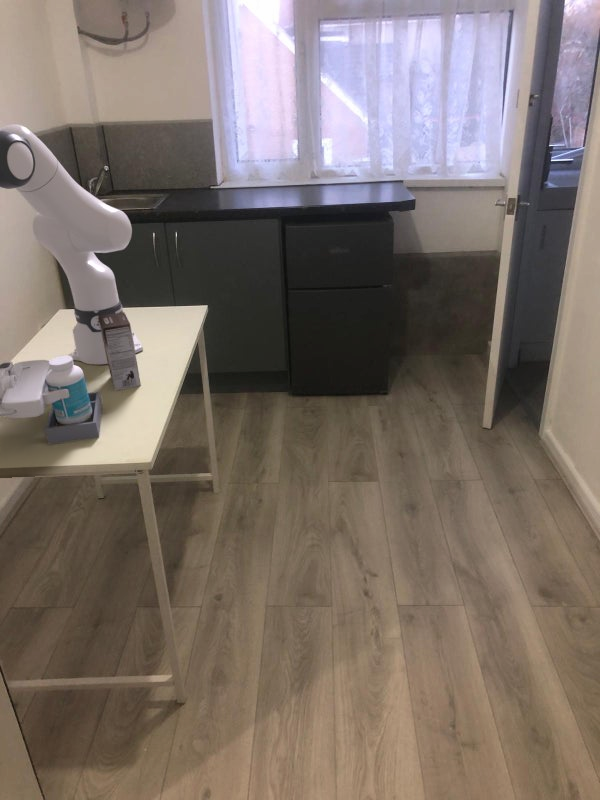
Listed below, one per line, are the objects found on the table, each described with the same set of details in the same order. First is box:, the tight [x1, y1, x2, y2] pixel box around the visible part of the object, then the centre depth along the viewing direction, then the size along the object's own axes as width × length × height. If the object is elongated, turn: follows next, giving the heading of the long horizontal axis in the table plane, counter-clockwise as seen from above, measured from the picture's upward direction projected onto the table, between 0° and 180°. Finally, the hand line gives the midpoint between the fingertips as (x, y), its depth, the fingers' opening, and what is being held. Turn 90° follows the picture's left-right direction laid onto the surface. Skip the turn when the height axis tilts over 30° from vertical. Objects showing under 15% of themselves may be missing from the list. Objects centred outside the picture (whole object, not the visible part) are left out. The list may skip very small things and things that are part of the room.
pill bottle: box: [46, 355, 92, 426], centre depth 134 cm, size 8×7×14 cm
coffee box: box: [98, 311, 142, 391], centre depth 155 cm, size 9×6×16 cm
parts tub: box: [44, 391, 103, 445], centre depth 139 cm, size 15×10×4 cm, turn 13°
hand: (71, 382), depth 134 cm, fingers closed on pill bottle, 7 cm apart
